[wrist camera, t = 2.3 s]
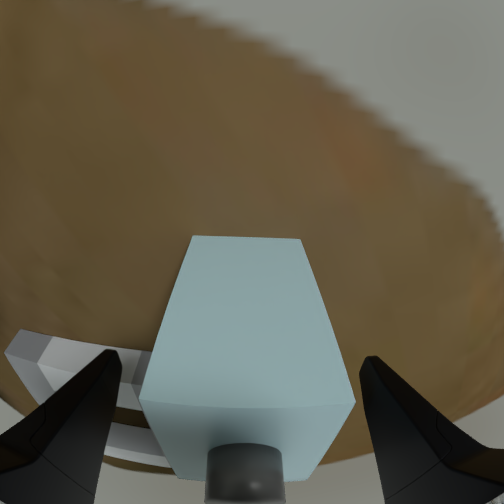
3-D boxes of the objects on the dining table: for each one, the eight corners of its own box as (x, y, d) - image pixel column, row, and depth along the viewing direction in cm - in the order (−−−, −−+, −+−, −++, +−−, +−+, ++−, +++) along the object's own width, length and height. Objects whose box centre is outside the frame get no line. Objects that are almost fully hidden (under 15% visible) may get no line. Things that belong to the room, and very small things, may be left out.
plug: (199, 333, 15) (174, 513, 6) (192, 235, 12) (122, 460, 4) (286, 335, 15) (310, 515, 7) (300, 239, 12) (372, 461, 4)
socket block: (80, 425, 21) (73, 445, 19) (20, 328, 15) (4, 352, 13) (210, 448, 22) (208, 471, 19) (197, 355, 16) (191, 390, 13)
